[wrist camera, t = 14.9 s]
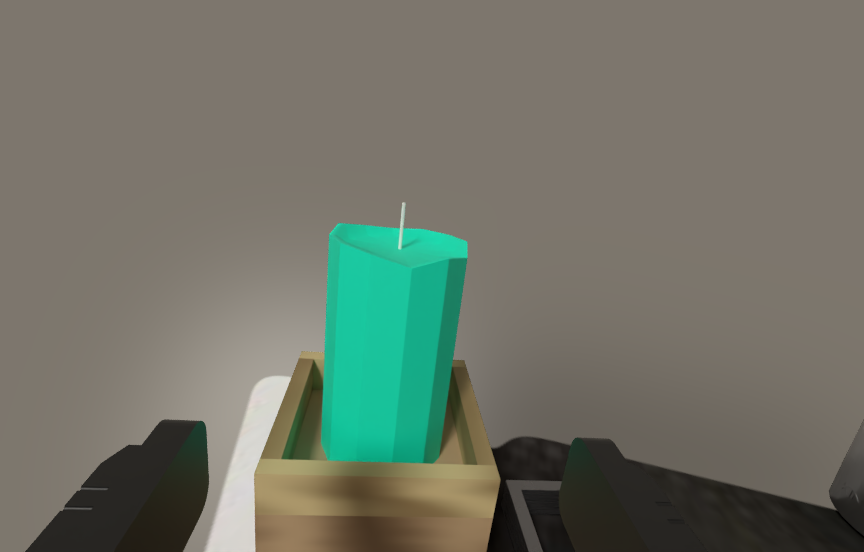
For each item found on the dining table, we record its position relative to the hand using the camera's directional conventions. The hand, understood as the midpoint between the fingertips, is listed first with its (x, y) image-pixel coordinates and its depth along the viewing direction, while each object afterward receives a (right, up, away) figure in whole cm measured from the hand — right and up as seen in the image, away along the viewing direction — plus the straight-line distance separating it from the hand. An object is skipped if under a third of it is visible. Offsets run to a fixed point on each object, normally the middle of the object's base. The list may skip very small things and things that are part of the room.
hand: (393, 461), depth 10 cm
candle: (-2, -4, +13) cm, 14 cm away
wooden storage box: (-3, -12, +15) cm, 19 cm away
